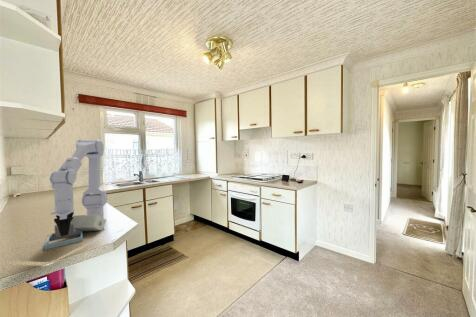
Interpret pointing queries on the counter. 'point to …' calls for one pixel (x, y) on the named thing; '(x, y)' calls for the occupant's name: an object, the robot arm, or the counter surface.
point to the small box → (88, 222)
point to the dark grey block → (71, 232)
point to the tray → (63, 241)
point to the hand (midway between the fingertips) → (65, 233)
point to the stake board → (51, 233)
